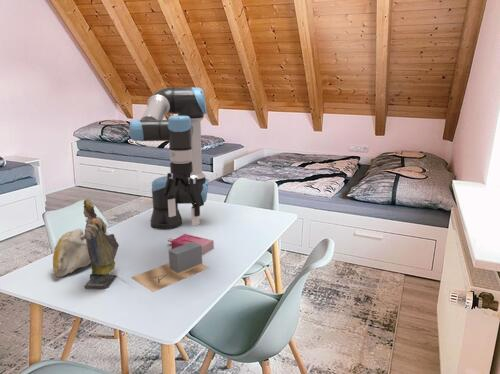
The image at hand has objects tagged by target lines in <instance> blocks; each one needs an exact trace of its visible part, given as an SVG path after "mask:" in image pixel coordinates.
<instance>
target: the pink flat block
mask: <svg viewBox="0 0 500 374" xmlns="http://www.w3.org/2000/svg"><path fill="white" fill-rule="evenodd" d="M167 242H168V243H171V246H170V247H171V249H174V248H177V247H179V246H182V245H185V244H188V243H191V242H195V243H197V244H200V245H202V256H203V255H205V254H206V253H208V252H210V251H211V250H213V249H214V247H215V244H214V240H213V239H208V238H204V237H201V236H200V237H199V236H196V235H192V234H191V235H190V234H187V233H184V234H182V235H179V236H178V237H176V238H172V237H170V238H168V239H167Z"/></svg>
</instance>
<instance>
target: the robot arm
mask: <svg viewBox="0 0 500 374" xmlns="http://www.w3.org/2000/svg"><path fill="white" fill-rule="evenodd" d="M168 114H169V115H170V116H169V117H168V119H164V117H165V116H166V115H168ZM206 114H207V104H206V97H205V92H204V89H202V88H201V87H195V86H192V87H191V86H189V87H171V86H170V87H164V88H162V89H158V91H155V92H154V93H153V94H151V95H150V97H149V98H148V99H147V102H146V109H145V111H144V113H143V115H141V116H142V117H141V118H140V119H133V120H131V121H130V123H129V135H130V139H131V140H132V141H133V142H168V143H169V144H168V146H169V149H168V150H169V160H170V163H169V164H170V165H169V168H170V169H169V171H170V172H168V173H167V175H165V176H161V177H158V178H155V179H154V180H153V181H152V182H151V195H152V196H151V197H152V214H151V217H150V227H151V228H152V229H156V230H171V229H172V230H173V229H176V228H179V227H181V226H182V225H183V219H182V215H181V212H180V210H179V207H178V205H181V204H184V205H185V204H186V205H187V204H191V205H192V206H191V208H190V210H191V226H192V227H194V226H198V225H200V224H201V223H200V215H201V211H200V210H201V207H203V206H205V203H206V202H207V197H208V191H209V190H208V187H209V178H206V174H205V173H204V172H203V159H202V158H203V157H202V128H201V127H202V126H201V121H202V120H203V119H204V118H205V117H204V115H206Z"/></svg>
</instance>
